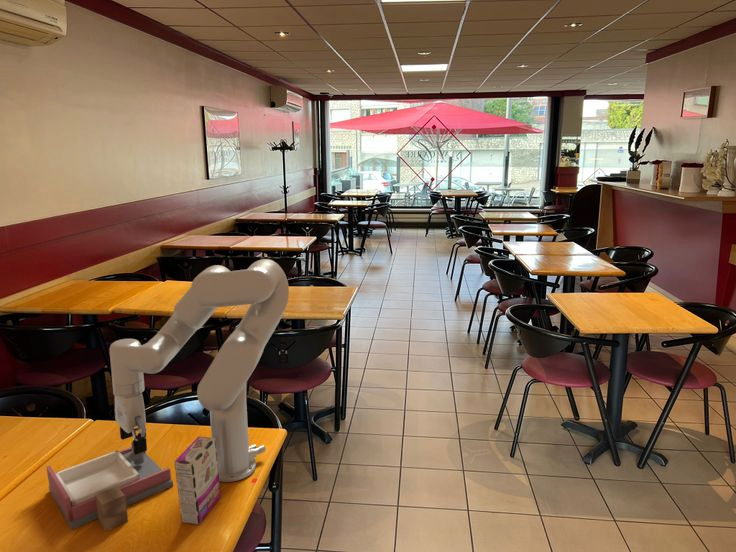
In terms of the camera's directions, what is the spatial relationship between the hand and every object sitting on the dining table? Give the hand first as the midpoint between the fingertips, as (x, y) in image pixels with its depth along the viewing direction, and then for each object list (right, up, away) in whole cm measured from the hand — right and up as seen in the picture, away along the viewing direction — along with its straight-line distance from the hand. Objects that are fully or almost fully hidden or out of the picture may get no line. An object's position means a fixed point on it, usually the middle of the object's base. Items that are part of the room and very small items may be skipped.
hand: (133, 444), depth 144 cm
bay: (-3, -9, -6) cm, 12 cm away
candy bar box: (+23, -11, -14) cm, 29 cm away
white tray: (-4, -8, -7) cm, 11 cm away
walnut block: (+3, -12, -18) cm, 22 cm away
